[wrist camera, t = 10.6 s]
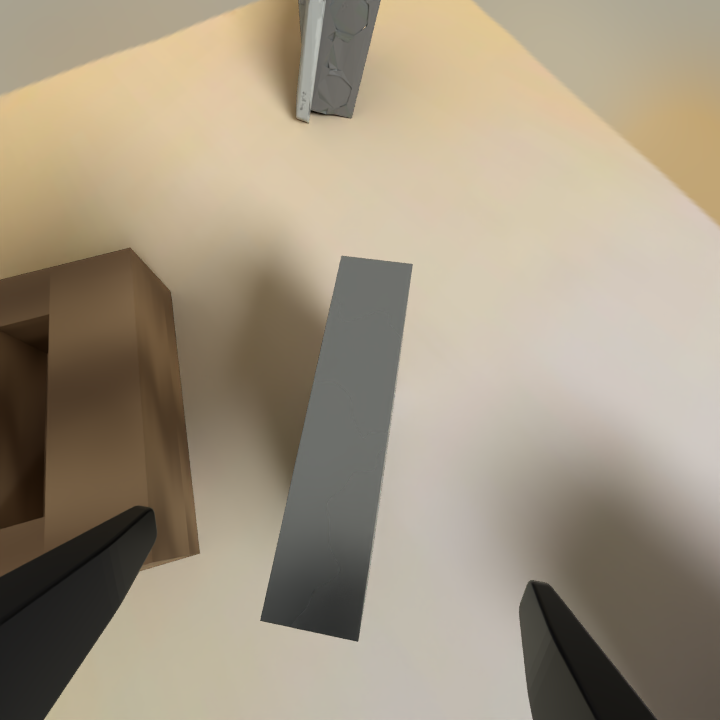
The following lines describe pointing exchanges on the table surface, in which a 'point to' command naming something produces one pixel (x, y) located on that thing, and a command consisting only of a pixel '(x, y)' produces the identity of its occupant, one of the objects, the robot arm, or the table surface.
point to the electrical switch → (333, 54)
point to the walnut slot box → (90, 408)
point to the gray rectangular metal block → (341, 456)
